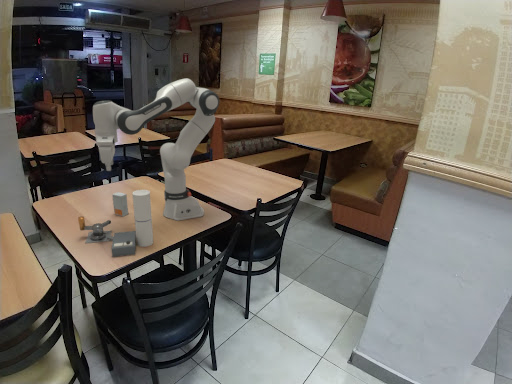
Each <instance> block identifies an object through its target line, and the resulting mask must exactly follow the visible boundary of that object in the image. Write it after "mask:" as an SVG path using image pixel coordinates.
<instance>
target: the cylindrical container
mask: <svg viewBox="0 0 512 384" xmlns="http://www.w3.org/2000/svg"><path fill="white" fill-rule="evenodd" d="M132 205H133V217H134V225H135V231H136V246H138V247H141V248H145V247H149V246H152V245H153V243H154V235H153V233H154V231H153V219H152V217H153V216H152V206H151V205H152V204H151V191H150V190H147V189H136V190H133V192H132Z"/></svg>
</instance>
